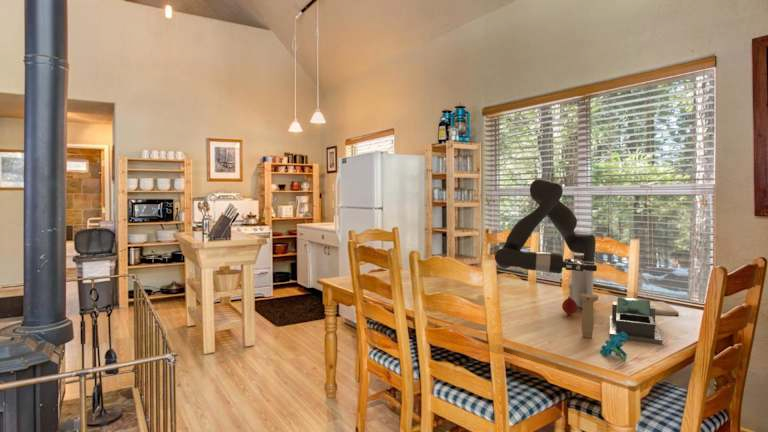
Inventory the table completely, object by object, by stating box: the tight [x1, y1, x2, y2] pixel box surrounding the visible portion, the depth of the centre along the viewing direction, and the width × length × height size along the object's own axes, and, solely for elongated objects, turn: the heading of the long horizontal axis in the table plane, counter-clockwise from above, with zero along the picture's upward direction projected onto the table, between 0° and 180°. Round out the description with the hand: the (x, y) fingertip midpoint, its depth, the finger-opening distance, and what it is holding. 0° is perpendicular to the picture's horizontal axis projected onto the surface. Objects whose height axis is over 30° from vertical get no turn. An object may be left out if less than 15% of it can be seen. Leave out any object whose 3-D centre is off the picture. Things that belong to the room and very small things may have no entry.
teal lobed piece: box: [599, 332, 628, 362], centre depth 143 cm, size 11×6×10 cm
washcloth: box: [650, 300, 679, 316], centre depth 199 cm, size 12×18×3 cm, turn 168°
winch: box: [608, 296, 663, 345], centre depth 170 cm, size 16×28×10 cm, turn 153°
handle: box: [578, 294, 599, 339], centre depth 162 cm, size 5×6×15 cm
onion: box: [561, 295, 578, 316], centre depth 190 cm, size 6×6×8 cm
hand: (595, 266), depth 167 cm, fingers open, 8 cm apart
